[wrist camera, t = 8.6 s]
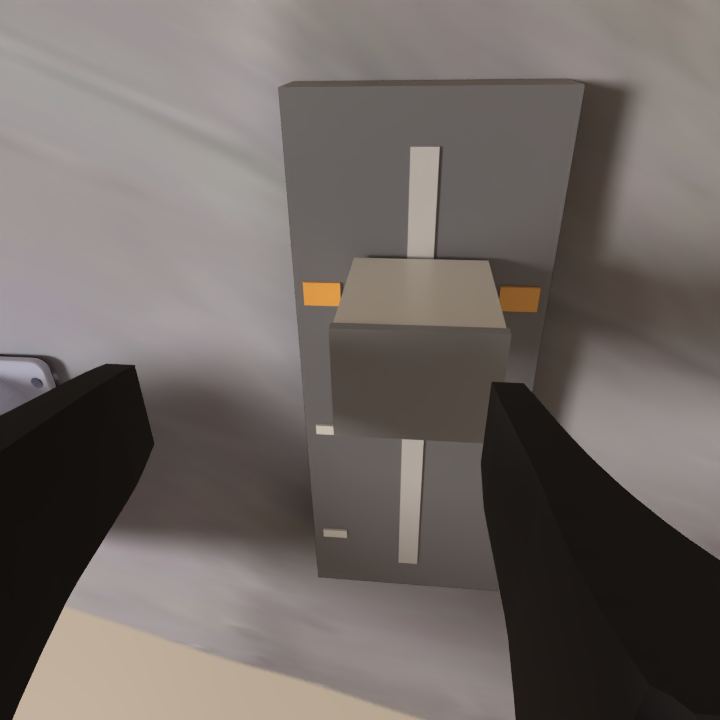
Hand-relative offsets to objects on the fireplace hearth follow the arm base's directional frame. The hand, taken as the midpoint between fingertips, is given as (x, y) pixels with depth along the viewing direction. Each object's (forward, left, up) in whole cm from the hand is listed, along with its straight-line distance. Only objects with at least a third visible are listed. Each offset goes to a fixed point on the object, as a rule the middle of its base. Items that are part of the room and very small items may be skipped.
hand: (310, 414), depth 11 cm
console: (-5, -2, -9) cm, 11 cm away
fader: (-1, -2, -7) cm, 7 cm away
